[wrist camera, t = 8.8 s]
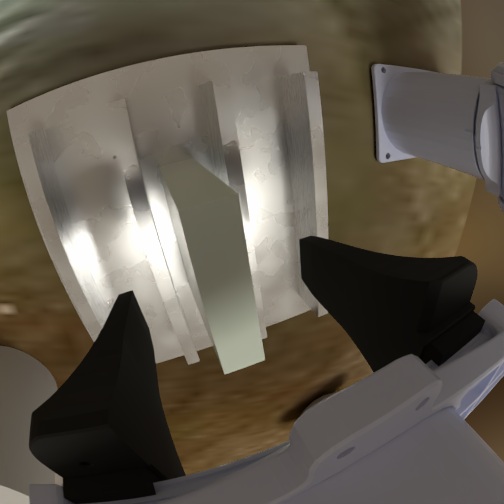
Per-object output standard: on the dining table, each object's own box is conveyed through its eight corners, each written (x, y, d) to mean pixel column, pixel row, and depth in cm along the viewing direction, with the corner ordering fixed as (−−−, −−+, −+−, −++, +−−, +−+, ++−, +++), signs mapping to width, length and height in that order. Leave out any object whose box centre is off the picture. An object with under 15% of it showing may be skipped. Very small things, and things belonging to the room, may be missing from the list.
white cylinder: (3, 407, 19) (-6, 512, 9) (-36, 347, 16) (-70, 463, 6) (70, 406, 22) (76, 522, 12) (36, 343, 18) (17, 483, 8)
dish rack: (298, 47, 16) (334, 38, 13) (316, 298, 26) (342, 325, 23) (12, 110, 12) (-17, 112, 8) (114, 366, 22) (117, 404, 18)
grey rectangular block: (193, 158, 16) (238, 193, 10) (218, 276, 20) (265, 359, 14) (158, 167, 16) (177, 209, 9) (189, 285, 20) (224, 374, 13)
